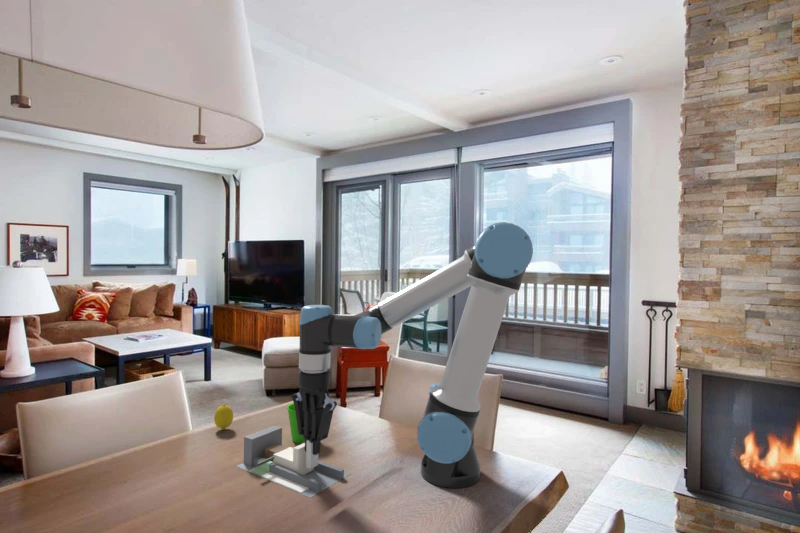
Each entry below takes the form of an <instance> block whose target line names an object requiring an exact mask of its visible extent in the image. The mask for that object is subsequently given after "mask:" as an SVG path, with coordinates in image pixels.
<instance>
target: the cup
mask: <svg viewBox="0 0 800 533" xmlns="http://www.w3.org/2000/svg"><path fill="white" fill-rule="evenodd" d="M286 410H287V413H288V418H289V427H290V432H291V435H290V436H291V440H292V442H293V443H295V444H303V443H305V439H304V436H303V435H299V433H298V426H297V419H296V412H295V405H294V402H293V403H290V404H289V403H288V405H287V407H286ZM303 429H304V428H303Z"/></svg>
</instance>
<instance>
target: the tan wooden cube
mask: <svg viewBox="0 0 800 533" xmlns="http://www.w3.org/2000/svg"><path fill="white" fill-rule="evenodd" d="M286 448H289V447H288V446H284V445H279V444H275V445H273V446H271V447H268V448H266V449H265V459H267V458H270V457H272V456H273V454H275V453H277V452H280V451H282V450H284V449H286ZM271 461H272V462H273V460H271Z"/></svg>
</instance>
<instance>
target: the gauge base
mask: <svg viewBox="0 0 800 533" xmlns="http://www.w3.org/2000/svg"><path fill="white" fill-rule="evenodd" d="M275 444H279V445H282V444H283V427H281V426H278V425H272V426H269V427H266V428H263V429H260V430H259V431H255V432H253V433H250V434H247V435H244V437H243V462H242V463H240V464H237V465H235V467H237V468H238V469H241V470H242V471H243V470H244V471H246V472H248V473H251V474H253V475H255V476H258V477H259V478H262V479H265V480H266V481H270V482H272V483H274V484H276V485H279V486H280V487H284V488H286V489H289V490H291V491H293V492H295V493H297V494H300V495H302V496H303V497H304V496H305V497H307V498H309V499H311V498H313V497H315V496H316V495H318V494H319V493H321V492H324V490H326V489H328V488H330V487H331V486H333V485H335V484H336V483H339V482H340V481H341V480H343V479H344V478H346V477H348V476H350V475H351V473H350V472H347V471H345V469H344V468H340V467H338V466H336V465H332V464H329V463H327V462H323V461H321V460H318V465H317V466H315V467H314V470H312V471H310V472H308V473H307V474H305V475H303V474H300V473H298V472H295V471H293V470H290V469H288V468H285V467H282V466H280V465H277V464H275V463H273V462H272V461H269V462H267V463H265V464H263V465H260V466H257V463H259V462H261V461H263V460H265V449H266V448H268V447H271V446H273V445H275ZM282 446H283V445H282Z"/></svg>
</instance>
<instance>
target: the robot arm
mask: <svg viewBox="0 0 800 533" xmlns="http://www.w3.org/2000/svg"><path fill="white" fill-rule="evenodd" d="M532 243H533V242H532V240H531V237H530V236H529V234H528V233H527V232H526V230H525V229H524V228H522V227H521V226H519V225H516V224H514V223H511V222H505V221H503V222H502V221H501V222H496V223H493V224H490V225H489V226H486V228H484V229H483V230H482V231H481V232H480V234H479V235H478V237H477V239H476V242H475V243H474V244H473V245H472V246H469V248H467V249H465V250H464V252H463V255H461V257H459V258H457V259H455V260H453V261H451V262H449V263H447V265H445V266H443V267H441V268H439V269H437V270H435V271H434V272H432V273H431V274H429V275H427V276H425V277H423V278H421V279H419V280H418V281H416V282H414V283H413V284H411V285H409V286H407V287H405V288H404V289H402V290H400V291H398V292H397V293H395V294H393V295H391V296H389V297H387V298H386V299H383V300H382V301H381V302H379V303H376V304H375V305H373V306H371V307H370V308H368V309H366V310H364V311H362V312H359V313H357V314H355V315H346V314H345V315H343V314H340V315H338V314H334V313H333V308H332V307H331V306H330V305H325V304H309V305H304V306H303V307H302V308H301V310H300V318H299V324H298V325H299V350H298V352H299V353H298V369H299V370H298V382H297V383H298V386H299V391H298V392H297V393H294V394H291V398H292V400H291V401H292V402H293V403H294V405H295V412H296V419H297V426H298V433H299V435H303V436H304V439H305V452H306V468H309V469H311V468H313V467H315V466H317V465H318V461H319V454H320V453H321V442H322V441H324V440H325V439H327V438H328V437H329V432H330V428H331V424H332V423H331V422H332V418H333V414H334V410H335V408H336V407H337V406H338V402H337V401H335V400H334V401H333V400H332V399H331V398H330V393H329V389H328V388H329V387H330V384H331V370H330V369H331V355H332V354H331V351H332V350H331V349H332V347H338V348H339V347H340V348H349V349H361V350H367V349H368V350H369V349H370V350H373V349H377V348H378V347H379V345H380V342H381V340H382V335H383V334H385V333H388V332H389V331H391V330H392V329H394V328H396V327H398V326H400V325H401V324H403V323H405V322H406V321H409V320H411V319H413V318H414V317H416V316H418V315H420V314H422V313H423V312H425V311H427V310H429V309H430V308H433V307H435V306H436V305H438V304H440V303H442V302H444V301H446V300H447V299H450V298H452V297H453V296H455V295H457V294H459V293H460V292H462V291H464V290H466V289H468V288H470V289H469V292H468V296H467V299H466V302H465V304H464V309H463V311H462V315H461V318H460V321H459V324H458V328H457V330H456V333H455V337H454V339H453V343H452V346H451V349H450V352H449V355H448V359H447V362H446V365H445V368H444V370H443V376H442V378H441V381H440V382H435V383H432V384H430V387H429V392H428V395H429V396H428V399H427V402H426V406H425V409H424V412H423V415H422V418H421V419H420V421H419V423H418V425H417V432H416V434H417V435H416V436H417V443H418V445H419V447H420V449H421V451H422V452H423V457H422V459H421V463H420V474H421V476H422V478H423V479H424V480H426V481H427V482H429V483H431V484H433V485H435V486H439V487H442V488H443V487H444V488H451V489H459V488H460V489H462V488H467V487H471V486H473V485H475V484H477V483H478V482H479V480H480V479H481V465H480V462H479V459H478V455H477V451H476V448H475V428H476V425H477V421H478V419H479V414H480V411H481V408H482V406H481V404H480V402H479V400H478V395H479V391H480V389H481V386H482V383H483V380H484V377H485V373H486V370H487V367H488V365H489V361H490V358H491V354H492V352H493V349H494V345H495V342H496V340H497V337H498V332H499V330H500V328H501V324H502V321H503V318H504V315H505V311H506V308H507V306H508V303H509V299H510V297H511V296H512V295H514V294H516V293H519V291H520V289H521V285H522V283H523V279H524V276H525V273H526V270H527V268H528V267H529V265H530V263H531V261H532V258H533V252H534V248H533V244H532ZM303 428H304V429H303Z"/></svg>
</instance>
